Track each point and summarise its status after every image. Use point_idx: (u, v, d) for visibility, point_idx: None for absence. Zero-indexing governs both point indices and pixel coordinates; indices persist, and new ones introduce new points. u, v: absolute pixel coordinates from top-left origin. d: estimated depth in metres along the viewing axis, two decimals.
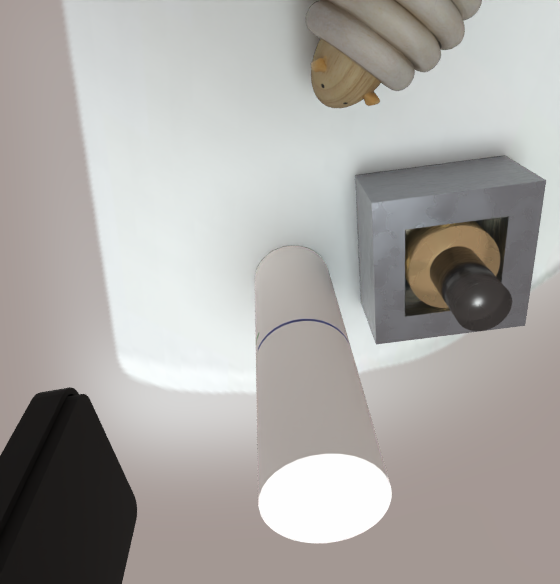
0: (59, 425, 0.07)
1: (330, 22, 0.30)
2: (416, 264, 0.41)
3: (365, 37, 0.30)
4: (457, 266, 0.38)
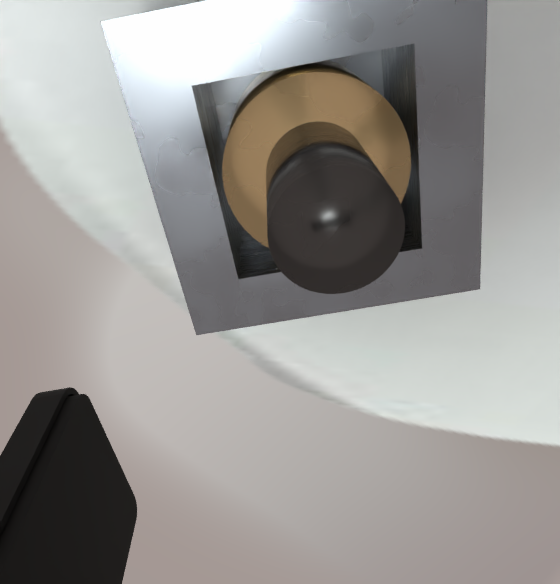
0: (59, 425, 0.07)
1: None
2: (327, 87, 0.19)
3: None
4: None
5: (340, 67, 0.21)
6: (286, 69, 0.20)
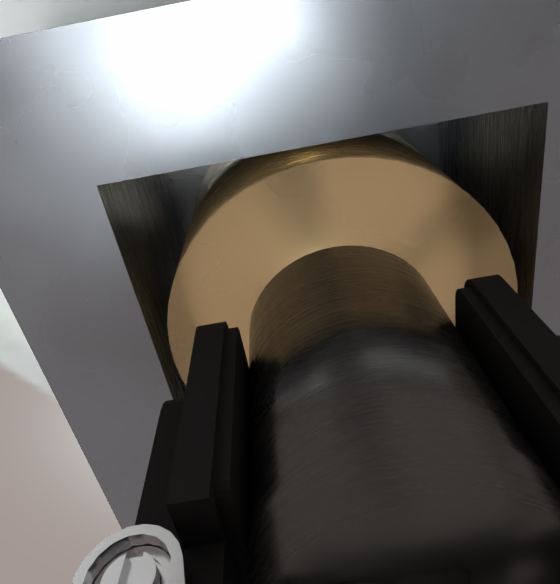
0: (229, 349, 0.08)
1: None
2: (369, 186, 0.09)
3: None
4: None
5: None
6: None
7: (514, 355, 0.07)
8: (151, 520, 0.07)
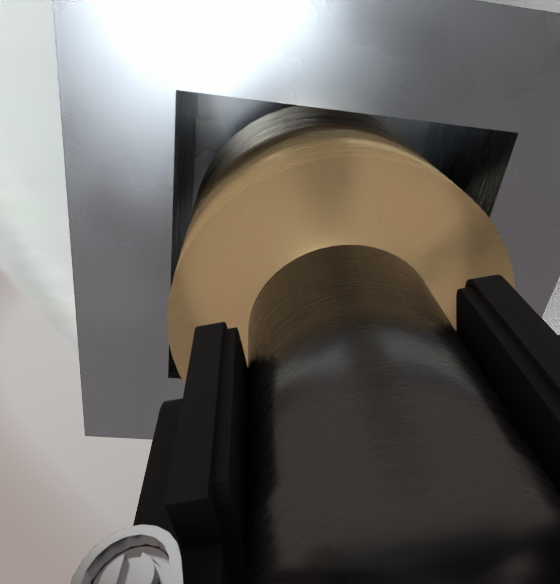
0: (228, 349, 0.08)
1: None
2: (413, 195, 0.10)
3: None
4: None
5: (414, 149, 0.13)
6: (332, 129, 0.11)
7: (515, 355, 0.07)
8: (149, 520, 0.07)
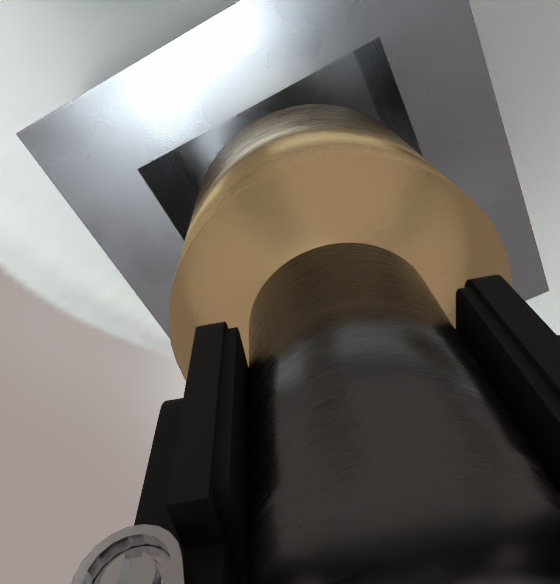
0: (228, 349, 0.08)
1: None
2: (315, 188, 0.10)
3: None
4: (453, 338, 0.08)
5: (332, 120, 0.12)
6: (241, 158, 0.12)
7: (515, 355, 0.07)
8: (150, 520, 0.07)
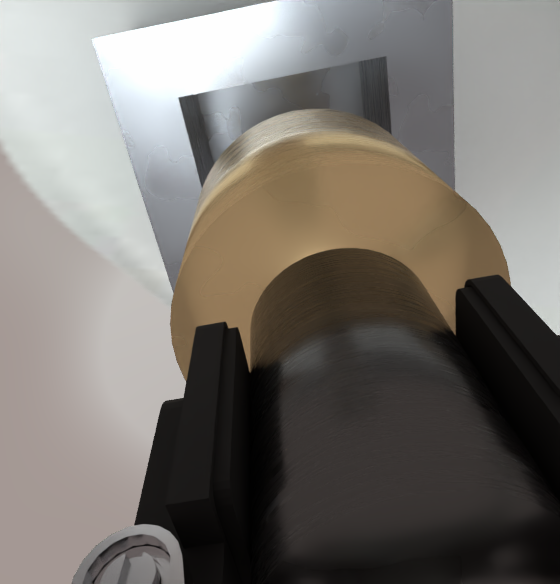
0: (228, 349, 0.08)
1: None
2: (365, 189, 0.10)
3: None
4: (473, 364, 0.08)
5: (375, 133, 0.13)
6: (284, 142, 0.12)
7: (514, 355, 0.07)
8: (151, 520, 0.07)
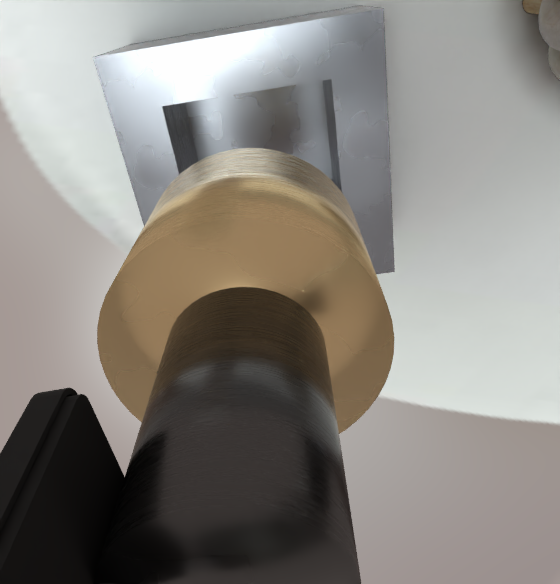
0: (58, 425, 0.07)
1: None
2: (258, 240, 0.11)
3: None
4: (323, 397, 0.10)
5: (294, 179, 0.14)
6: (207, 187, 0.13)
7: None
8: None
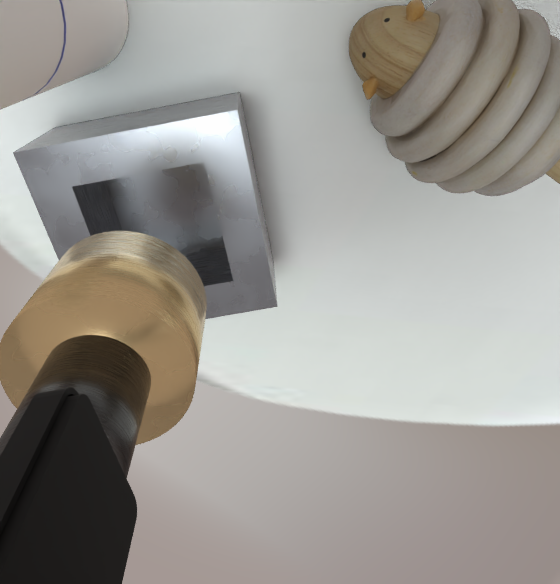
0: (59, 425, 0.07)
1: (473, 16, 0.25)
2: (91, 306, 0.18)
3: (461, 63, 0.25)
4: (120, 403, 0.17)
5: (134, 257, 0.21)
6: (71, 268, 0.20)
7: None
8: None
